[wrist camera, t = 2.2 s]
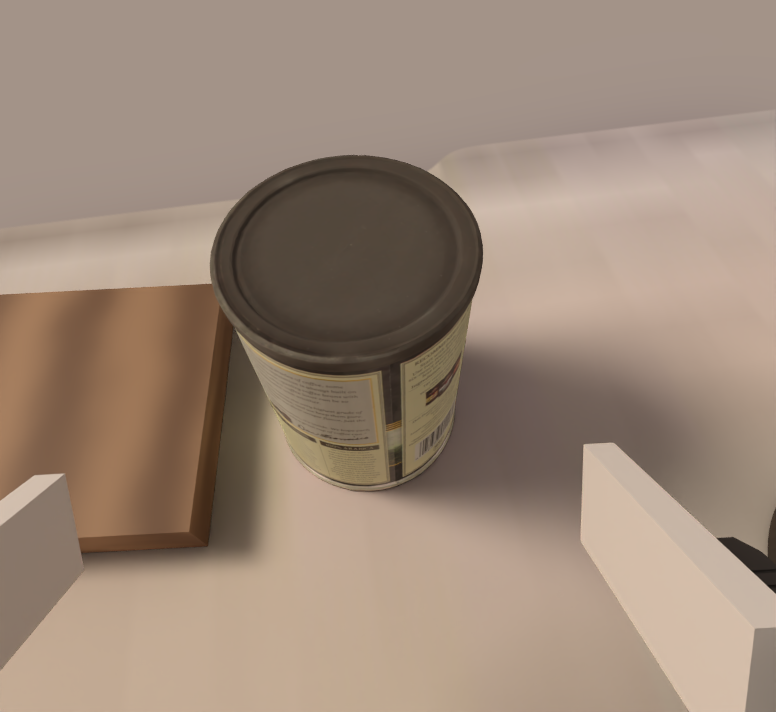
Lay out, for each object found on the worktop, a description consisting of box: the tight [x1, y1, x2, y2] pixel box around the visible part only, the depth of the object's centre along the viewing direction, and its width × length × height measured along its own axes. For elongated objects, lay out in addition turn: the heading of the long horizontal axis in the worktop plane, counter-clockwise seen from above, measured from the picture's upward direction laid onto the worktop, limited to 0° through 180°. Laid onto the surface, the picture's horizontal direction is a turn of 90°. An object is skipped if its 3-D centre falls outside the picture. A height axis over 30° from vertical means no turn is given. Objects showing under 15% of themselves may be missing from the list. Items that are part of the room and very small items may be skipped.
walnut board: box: [0, 284, 233, 553], centre depth 32 cm, size 15×15×3 cm
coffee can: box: [210, 155, 483, 491], centre depth 27 cm, size 10×10×14 cm
